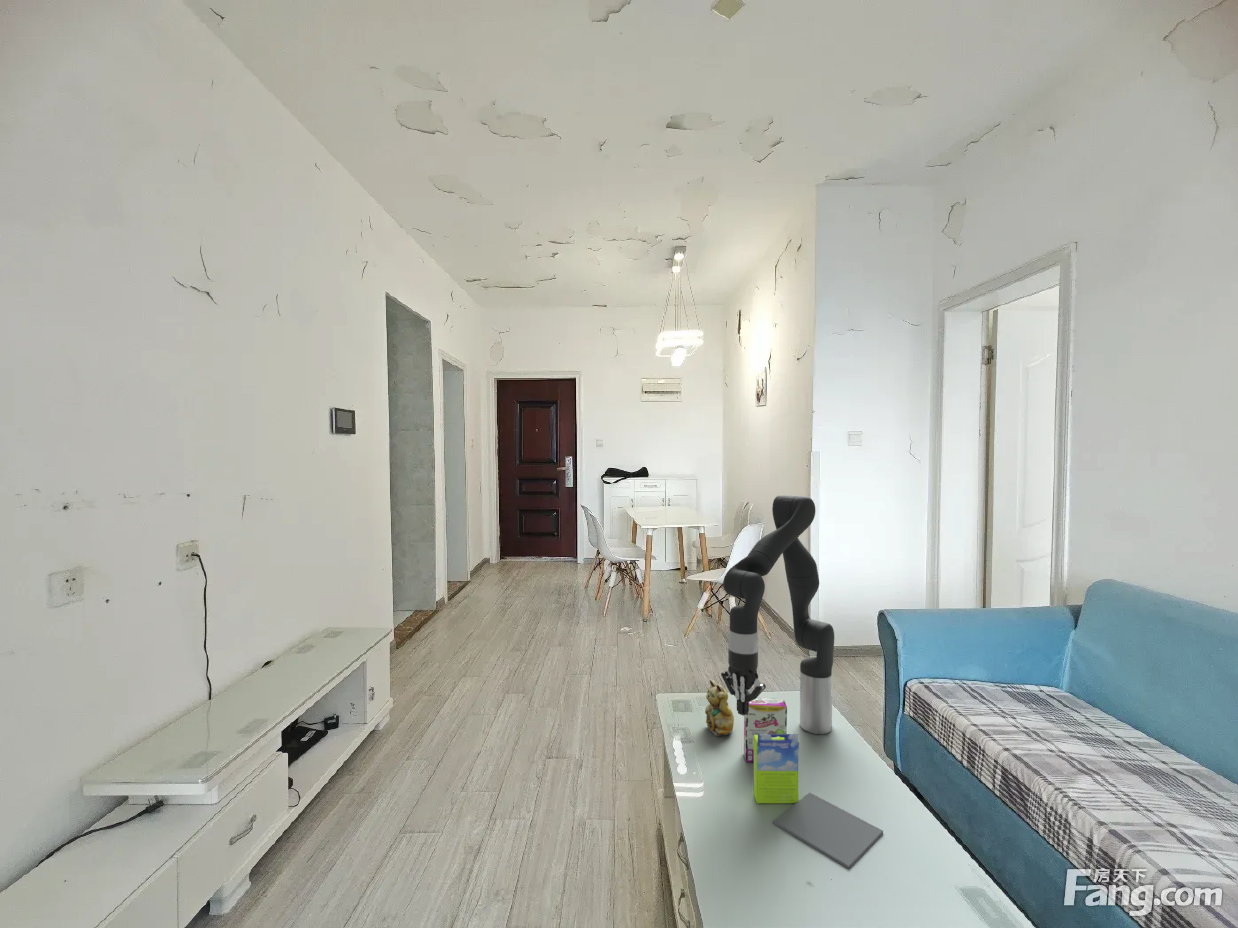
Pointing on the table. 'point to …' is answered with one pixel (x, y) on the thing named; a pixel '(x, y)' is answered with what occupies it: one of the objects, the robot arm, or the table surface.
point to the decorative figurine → (718, 711)
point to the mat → (829, 829)
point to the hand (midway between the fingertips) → (742, 713)
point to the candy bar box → (763, 722)
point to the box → (776, 768)
